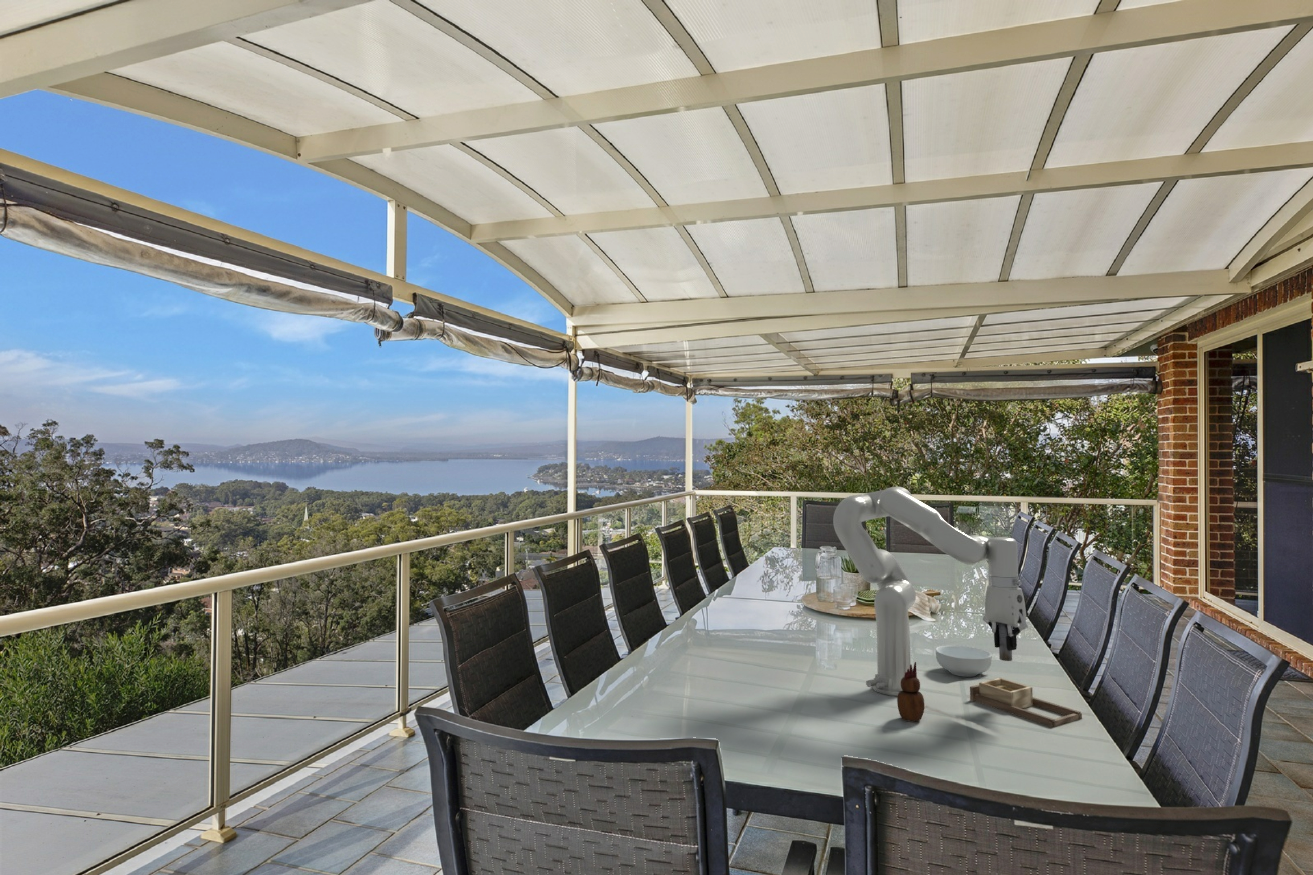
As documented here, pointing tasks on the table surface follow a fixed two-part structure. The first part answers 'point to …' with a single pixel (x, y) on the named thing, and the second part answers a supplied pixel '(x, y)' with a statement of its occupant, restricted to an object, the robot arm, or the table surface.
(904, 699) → the wooden figurine
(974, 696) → the tray
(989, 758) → the table surface
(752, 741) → the table surface
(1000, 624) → the handle peg
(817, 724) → the table surface
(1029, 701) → the crate
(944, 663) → the cereal bowl
